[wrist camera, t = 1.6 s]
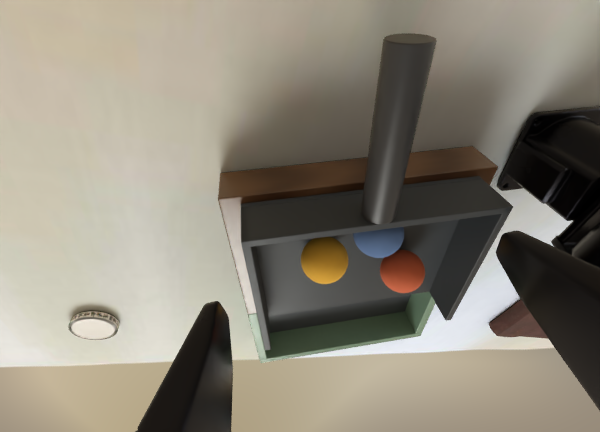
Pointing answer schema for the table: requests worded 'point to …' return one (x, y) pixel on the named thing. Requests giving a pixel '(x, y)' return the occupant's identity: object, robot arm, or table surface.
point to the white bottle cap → (94, 325)
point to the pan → (376, 212)
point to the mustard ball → (324, 260)
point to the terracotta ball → (402, 271)
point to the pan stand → (330, 187)
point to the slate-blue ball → (379, 241)
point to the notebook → (517, 323)
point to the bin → (343, 326)
